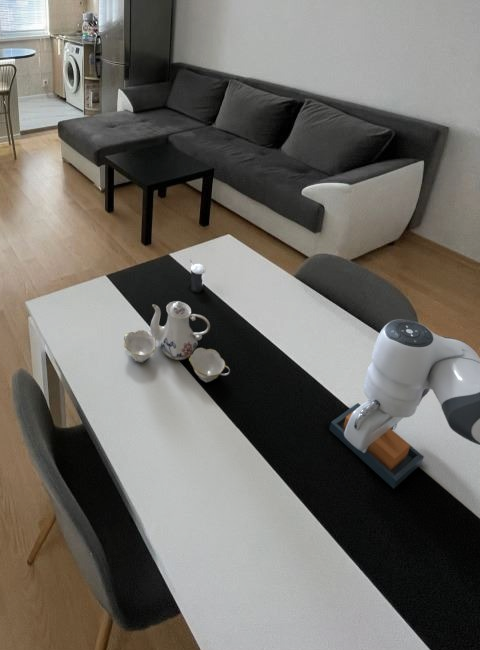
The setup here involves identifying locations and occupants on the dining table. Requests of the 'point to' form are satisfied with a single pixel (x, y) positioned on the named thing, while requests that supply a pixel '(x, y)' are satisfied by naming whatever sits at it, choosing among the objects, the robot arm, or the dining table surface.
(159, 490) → the dining table surface
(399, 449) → the orange rectangular block
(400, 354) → the robot arm
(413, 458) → the dark blue rectangular tray
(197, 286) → the milkshake
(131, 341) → the chinaware
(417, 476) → the dining table surface
